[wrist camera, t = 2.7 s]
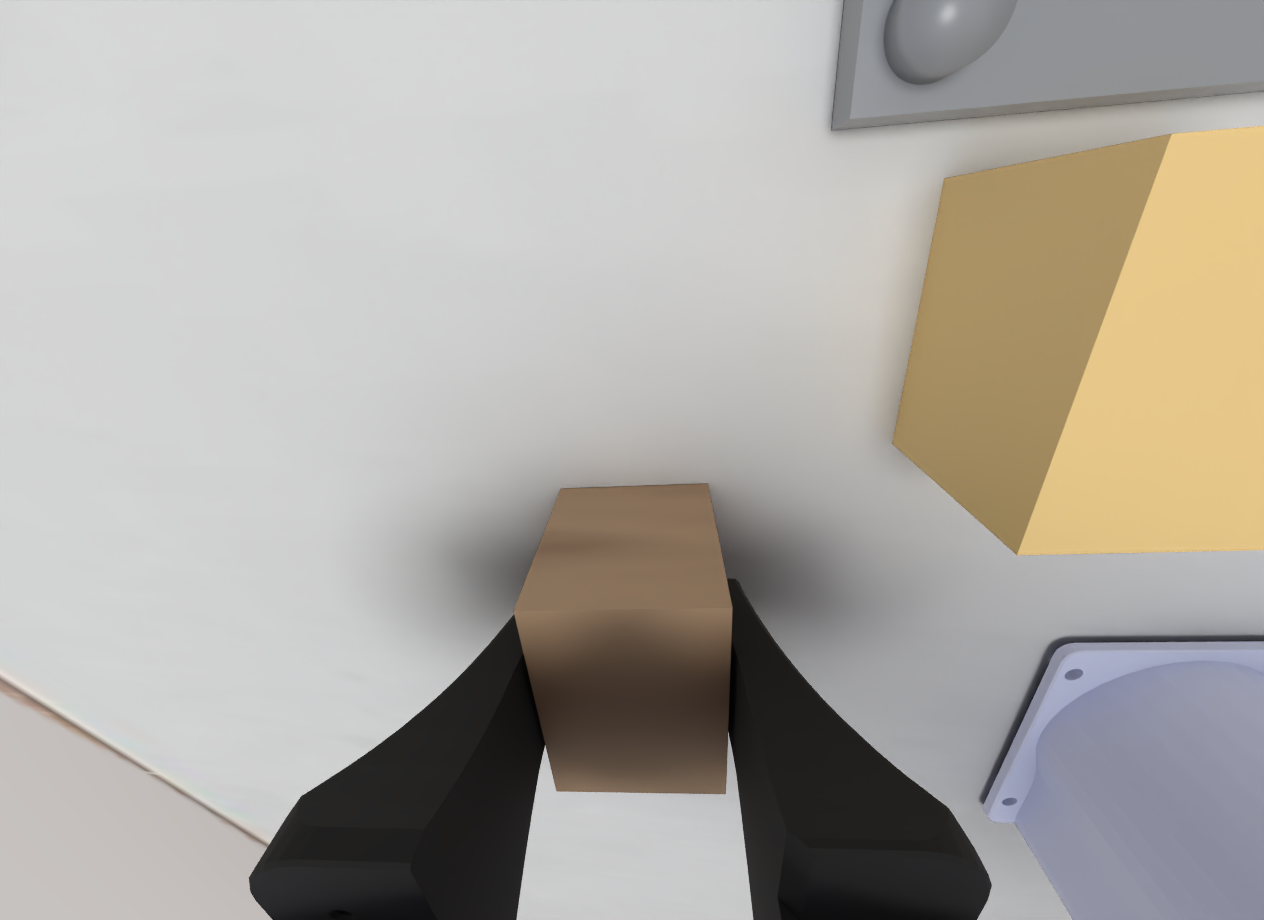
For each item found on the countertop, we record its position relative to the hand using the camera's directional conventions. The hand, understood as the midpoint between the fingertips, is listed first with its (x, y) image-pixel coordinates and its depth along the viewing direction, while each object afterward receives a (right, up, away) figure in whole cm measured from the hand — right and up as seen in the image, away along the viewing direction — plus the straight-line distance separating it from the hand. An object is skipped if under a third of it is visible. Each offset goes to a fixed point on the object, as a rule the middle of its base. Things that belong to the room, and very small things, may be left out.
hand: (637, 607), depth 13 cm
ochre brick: (+9, +7, -2) cm, 12 cm away
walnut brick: (0, +1, +1) cm, 2 cm away
